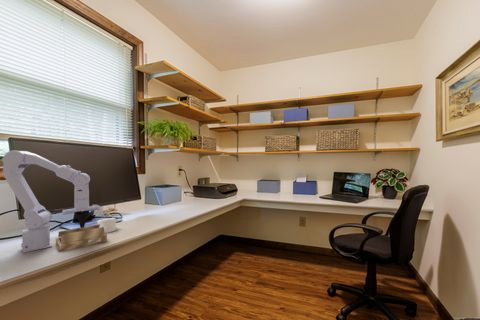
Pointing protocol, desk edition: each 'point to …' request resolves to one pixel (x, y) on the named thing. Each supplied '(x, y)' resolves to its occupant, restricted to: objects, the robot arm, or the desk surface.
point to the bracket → (108, 224)
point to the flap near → (82, 235)
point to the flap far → (78, 229)
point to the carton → (80, 242)
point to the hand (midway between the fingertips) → (82, 227)
